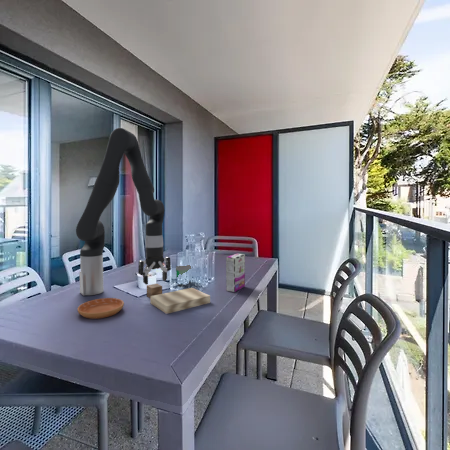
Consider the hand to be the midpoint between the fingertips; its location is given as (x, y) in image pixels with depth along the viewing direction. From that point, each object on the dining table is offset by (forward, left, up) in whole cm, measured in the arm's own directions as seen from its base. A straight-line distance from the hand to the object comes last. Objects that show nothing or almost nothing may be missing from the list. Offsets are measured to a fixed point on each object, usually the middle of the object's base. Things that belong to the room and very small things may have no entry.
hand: (155, 282), depth 126 cm
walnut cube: (0, 0, -7) cm, 7 cm away
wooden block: (+5, -14, -6) cm, 16 cm away
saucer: (-24, -4, -7) cm, 25 cm away
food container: (+22, +10, -7) cm, 25 cm away
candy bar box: (+36, -12, -7) cm, 38 cm away
